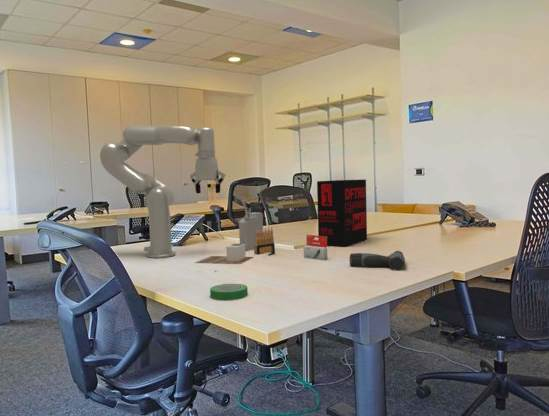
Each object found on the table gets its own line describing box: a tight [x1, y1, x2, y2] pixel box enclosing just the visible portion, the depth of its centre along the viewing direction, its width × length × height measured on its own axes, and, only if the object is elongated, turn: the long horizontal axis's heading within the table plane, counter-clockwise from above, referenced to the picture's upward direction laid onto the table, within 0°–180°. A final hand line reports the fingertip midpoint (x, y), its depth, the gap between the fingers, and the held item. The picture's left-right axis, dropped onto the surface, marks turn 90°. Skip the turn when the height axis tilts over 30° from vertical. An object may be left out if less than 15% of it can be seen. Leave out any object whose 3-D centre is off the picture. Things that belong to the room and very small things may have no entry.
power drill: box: [349, 250, 406, 271], centre depth 174 cm, size 5×19×20 cm
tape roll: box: [209, 283, 249, 301], centre depth 135 cm, size 11×11×3 cm
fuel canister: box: [238, 198, 264, 251], centre depth 222 cm, size 15×5×25 cm, turn 144°
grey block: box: [225, 243, 246, 262], centre depth 186 cm, size 5×8×6 cm, turn 163°
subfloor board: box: [194, 255, 255, 265], centre depth 187 cm, size 20×16×1 cm
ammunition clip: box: [253, 227, 276, 256], centre depth 202 cm, size 11×2×12 cm, turn 132°
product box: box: [316, 179, 368, 248], centre depth 232 cm, size 26×14×32 cm, turn 145°
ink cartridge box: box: [303, 234, 329, 261], centre depth 190 cm, size 2×11×10 cm, turn 47°
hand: (208, 193), depth 207 cm, fingers open, 9 cm apart
